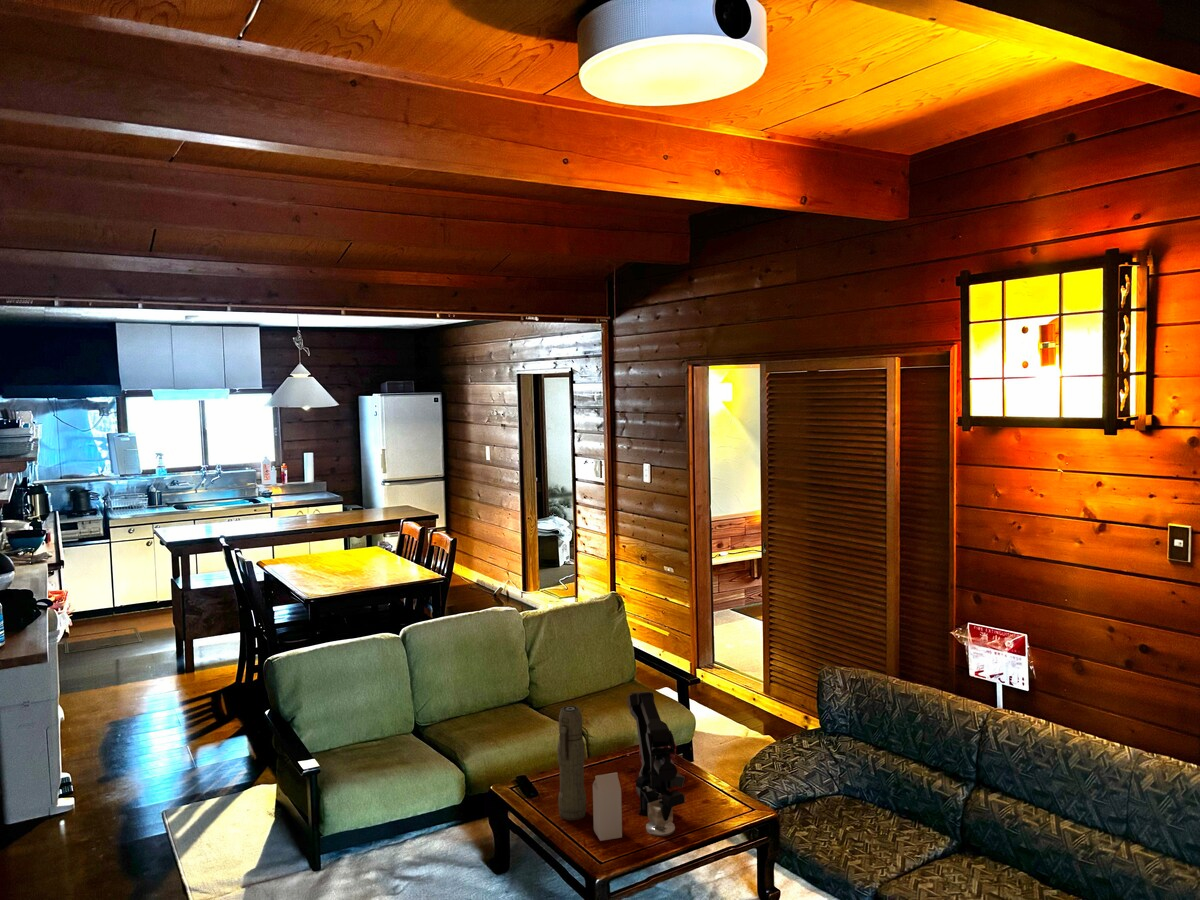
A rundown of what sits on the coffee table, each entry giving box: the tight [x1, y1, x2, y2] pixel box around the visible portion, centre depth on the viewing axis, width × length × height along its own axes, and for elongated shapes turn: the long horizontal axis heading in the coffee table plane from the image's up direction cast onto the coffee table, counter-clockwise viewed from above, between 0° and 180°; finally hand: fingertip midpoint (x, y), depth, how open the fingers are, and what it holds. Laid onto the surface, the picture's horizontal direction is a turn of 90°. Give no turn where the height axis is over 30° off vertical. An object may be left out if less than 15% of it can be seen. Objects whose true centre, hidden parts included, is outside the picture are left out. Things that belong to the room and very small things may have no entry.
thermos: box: [557, 705, 587, 821], centre depth 287 cm, size 9×12×35 cm
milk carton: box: [592, 772, 623, 842], centre depth 274 cm, size 7×7×19 cm
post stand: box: [645, 820, 676, 837], centre depth 277 cm, size 9×9×4 cm
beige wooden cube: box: [647, 799, 674, 826], centre depth 276 cm, size 6×6×5 cm
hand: (660, 816), depth 277 cm, fingers closed on beige wooden cube, 6 cm apart
